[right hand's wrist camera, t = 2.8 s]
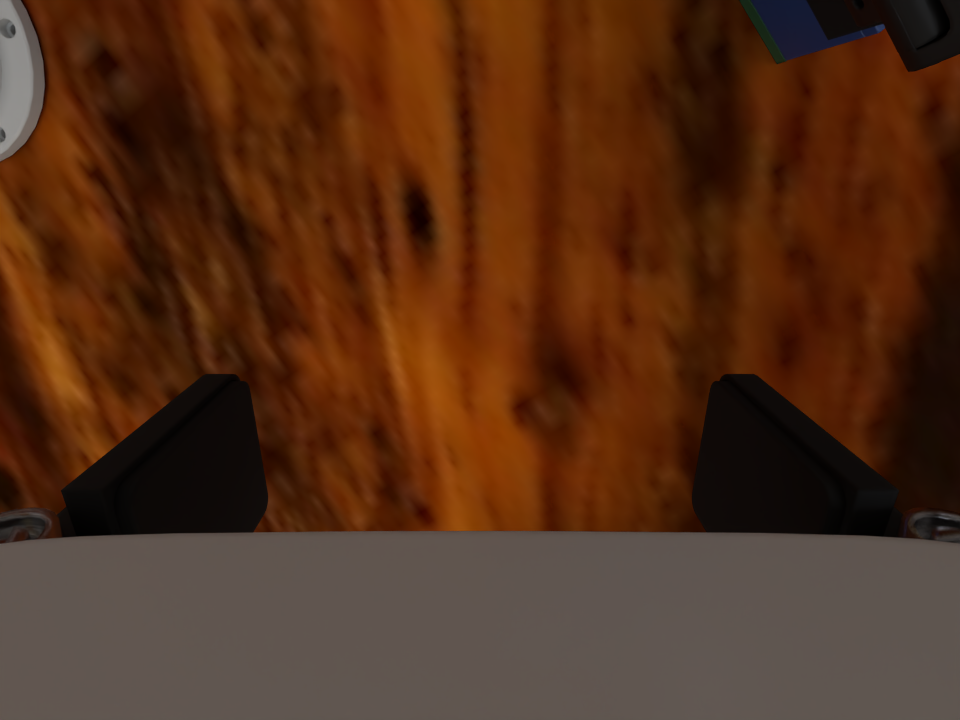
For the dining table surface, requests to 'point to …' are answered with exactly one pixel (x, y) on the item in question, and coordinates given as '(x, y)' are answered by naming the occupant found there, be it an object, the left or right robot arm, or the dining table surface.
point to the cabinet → (793, 28)
